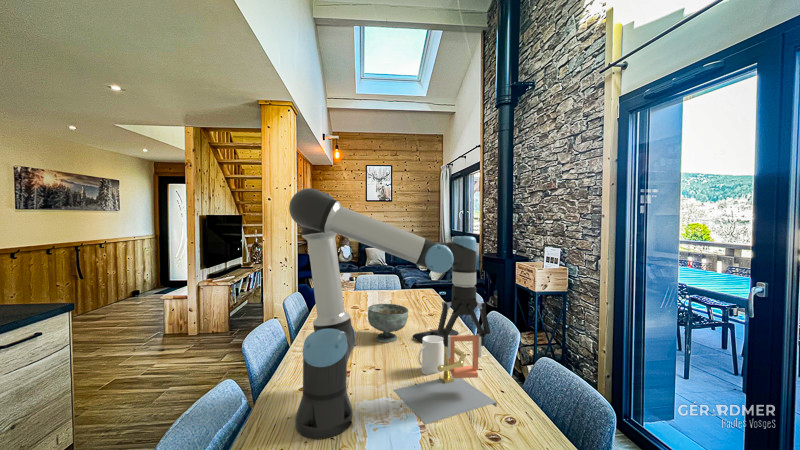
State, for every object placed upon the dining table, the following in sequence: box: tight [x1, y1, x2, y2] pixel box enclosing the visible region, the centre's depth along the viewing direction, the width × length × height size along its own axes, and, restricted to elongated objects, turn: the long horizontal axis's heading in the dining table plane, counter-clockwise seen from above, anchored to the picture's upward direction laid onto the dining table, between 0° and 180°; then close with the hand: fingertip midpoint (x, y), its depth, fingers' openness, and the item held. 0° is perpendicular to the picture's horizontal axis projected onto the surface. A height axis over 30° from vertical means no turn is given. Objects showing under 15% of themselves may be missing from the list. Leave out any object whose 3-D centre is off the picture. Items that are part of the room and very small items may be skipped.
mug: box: [417, 335, 444, 376], centre depth 119 cm, size 12×8×12 cm
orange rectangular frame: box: [449, 334, 479, 379], centre depth 102 cm, size 5×9×12 cm, turn 94°
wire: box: [438, 346, 467, 384], centre depth 102 cm, size 15×17×14 cm
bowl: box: [367, 303, 409, 344], centre depth 154 cm, size 20×19×15 cm
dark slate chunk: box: [412, 327, 459, 343], centre depth 157 cm, size 15×22×5 cm
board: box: [393, 375, 498, 425], centre depth 100 cm, size 25×20×1 cm
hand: (463, 356), depth 102 cm, fingers closed on orange rectangular frame, 9 cm apart
